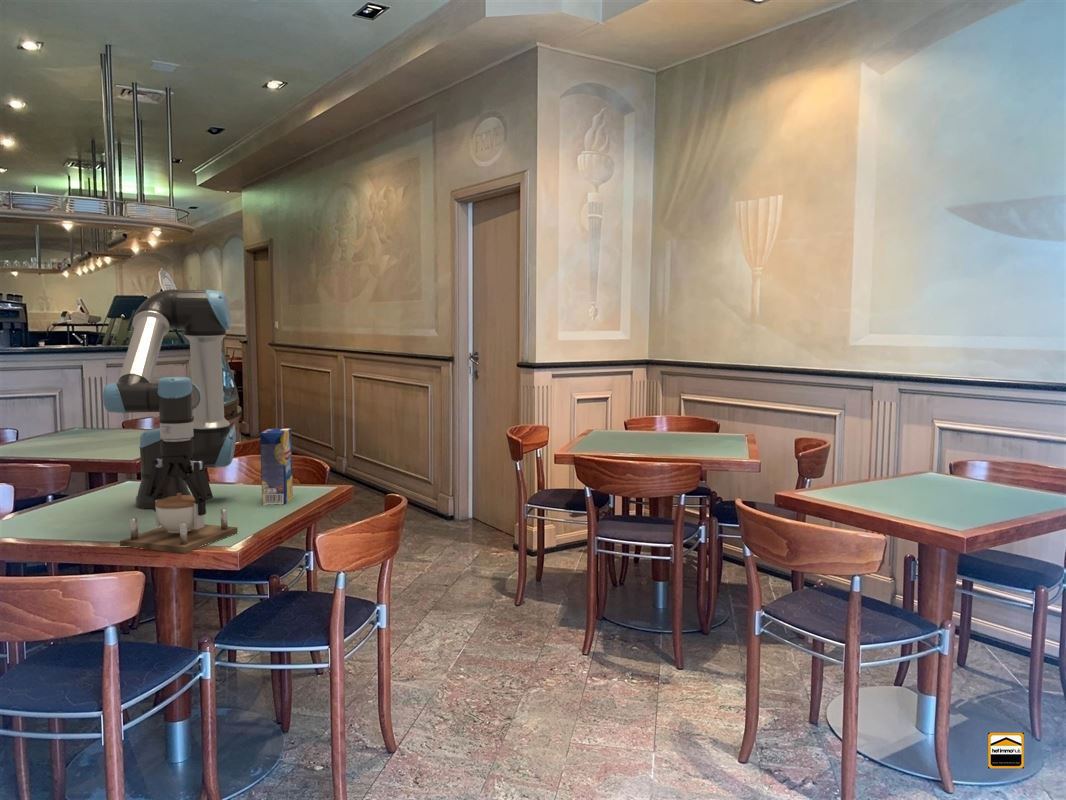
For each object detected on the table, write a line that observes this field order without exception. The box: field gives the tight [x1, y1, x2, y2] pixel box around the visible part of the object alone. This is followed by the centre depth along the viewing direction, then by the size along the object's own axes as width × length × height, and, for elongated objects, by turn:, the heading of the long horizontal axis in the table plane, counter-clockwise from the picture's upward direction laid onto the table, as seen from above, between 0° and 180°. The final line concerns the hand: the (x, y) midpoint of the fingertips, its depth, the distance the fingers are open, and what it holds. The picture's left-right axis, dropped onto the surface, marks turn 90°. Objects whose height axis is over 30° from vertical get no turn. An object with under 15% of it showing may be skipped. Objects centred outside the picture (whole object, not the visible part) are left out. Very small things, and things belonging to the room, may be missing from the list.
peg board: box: [119, 523, 239, 554], centre depth 189 cm, size 19×19×2 cm
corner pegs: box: [129, 508, 229, 545], centre depth 188 cm, size 16×16×5 cm
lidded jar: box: [155, 493, 196, 533], centre depth 188 cm, size 11×11×9 cm
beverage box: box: [259, 428, 294, 506], centre depth 232 cm, size 7×11×22 cm, turn 6°
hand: (180, 526), depth 189 cm, fingers closed on lidded jar, 11 cm apart
